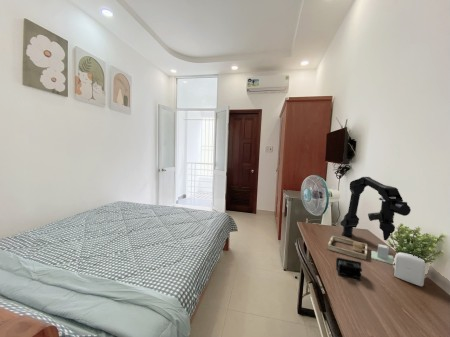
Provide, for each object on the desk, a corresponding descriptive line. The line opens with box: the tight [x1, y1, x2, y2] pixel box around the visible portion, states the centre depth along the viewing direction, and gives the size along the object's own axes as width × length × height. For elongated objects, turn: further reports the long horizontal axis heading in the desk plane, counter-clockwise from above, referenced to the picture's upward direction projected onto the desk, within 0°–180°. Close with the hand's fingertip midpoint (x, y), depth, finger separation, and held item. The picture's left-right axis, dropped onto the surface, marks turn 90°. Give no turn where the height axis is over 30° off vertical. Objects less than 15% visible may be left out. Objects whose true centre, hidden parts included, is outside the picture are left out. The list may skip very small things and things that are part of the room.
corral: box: [326, 235, 368, 261], centre depth 125 cm, size 18×20×2 cm
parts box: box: [376, 243, 390, 260], centre depth 115 cm, size 4×4×6 cm
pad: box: [370, 250, 395, 265], centre depth 115 cm, size 10×10×1 cm
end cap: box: [335, 257, 363, 281], centre depth 99 cm, size 10×7×7 cm
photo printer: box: [393, 252, 426, 287], centre depth 95 cm, size 10×4×12 cm, turn 39°
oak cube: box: [352, 241, 363, 253], centre depth 123 cm, size 4×4×4 cm
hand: (384, 237), depth 114 cm, fingers open, 9 cm apart
